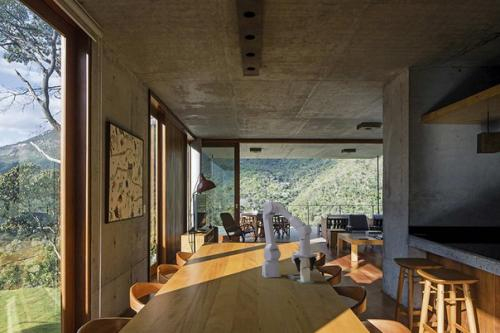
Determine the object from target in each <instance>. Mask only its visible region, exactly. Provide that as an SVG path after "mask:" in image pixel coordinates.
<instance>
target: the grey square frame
mask: <svg viewBox="0 0 500 333" xmlns="http://www.w3.org/2000/svg"><path fill="white" fill-rule="evenodd" d="M286 278H289V279H290V280H292V281H297V280H300V272H298V273H287V274H286Z"/></svg>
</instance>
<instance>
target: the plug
mask: <svg viewBox="0 0 500 333" xmlns="http://www.w3.org/2000/svg"><path fill="white" fill-rule="evenodd" d="M299 273H300V280H301V281H303V282H306V281H310V280H311V271H310V267H308V266H306V267H300V272H299Z"/></svg>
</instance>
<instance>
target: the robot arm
mask: <svg viewBox="0 0 500 333" xmlns="http://www.w3.org/2000/svg"><path fill="white" fill-rule="evenodd" d="M262 207H263V211H262V212H263V213H262V221H263V228H264V235H265V242H266V244H265V246H264V249H263V252H264V253H263V258H264V260H265V261H262V263H261V269H262V271H261V276H262V277H263V278H265V279H269V278H281V277H282V275H280V272H279V260H280V258H281V255H282V254H281V251H280V249H279V246H278V245H277V244H276V238H275V230H274V229H275V228H274V224H273V223H274V222H273V217H274V216H275V215H276V214H280V215H281V216H282V217H284V219H287V220H288V221H289V225H290V226H291V227H293V228H294V229H295V230H296V231H297V234H298V236H299V249H300V254H297V255H296V254H294V255H292V254H291V255H292V258H293V260H294V261H295V264H294V265H296V269H297V272H298V273H300V263H301V260H300V259H299V258H306V259H308V260H309V268H310V272H313V271H314V267H315V264H316V262H317V258H318V253H311V234H312V230H313V229H312V227H311V225H310V224H306V223H305V221H302V220H301V219H300V217H299V216H295V215H294V216H293V214H291V213H290V212H289V211H288V209H286V208H285V207H284V206H283V204H282V203H280V202H279V201H270V202H269V201H268V202H266V203H264V205H263V206H262Z"/></svg>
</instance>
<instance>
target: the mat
mask: <svg viewBox="0 0 500 333" xmlns="http://www.w3.org/2000/svg"><path fill="white" fill-rule="evenodd" d="M296 281H297V282H299V283H301V284H313V283H315V281H313V280H311V279H310V281H306V282H303V281H301V280H296Z"/></svg>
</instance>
